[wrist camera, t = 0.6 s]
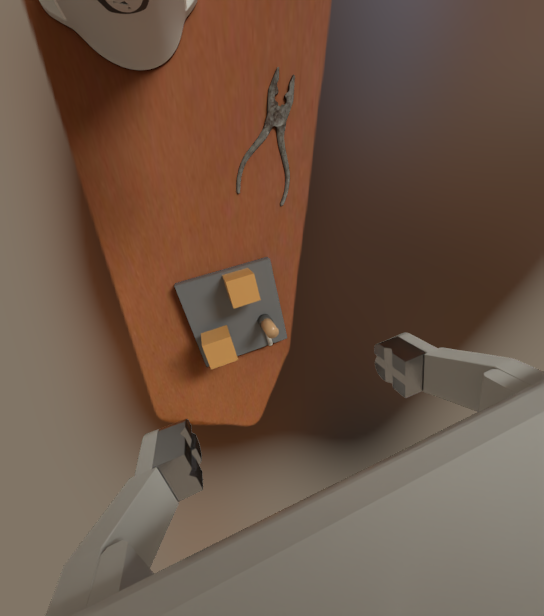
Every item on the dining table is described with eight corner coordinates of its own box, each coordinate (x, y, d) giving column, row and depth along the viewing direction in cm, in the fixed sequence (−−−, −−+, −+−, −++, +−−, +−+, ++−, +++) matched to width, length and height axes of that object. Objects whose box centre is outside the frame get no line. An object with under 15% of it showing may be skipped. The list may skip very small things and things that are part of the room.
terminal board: (174, 283, 46) (171, 297, 38) (266, 256, 49) (281, 265, 41) (206, 361, 53) (209, 387, 45) (284, 334, 57) (299, 353, 49)
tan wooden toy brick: (221, 275, 46) (225, 281, 41) (247, 267, 47) (254, 273, 42) (229, 299, 48) (233, 308, 44) (254, 292, 49) (260, 300, 44)
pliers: (237, 203, 44) (235, 58, 37) (236, 204, 45) (234, 61, 38) (288, 206, 47) (295, 71, 40) (287, 206, 48) (293, 73, 41)
